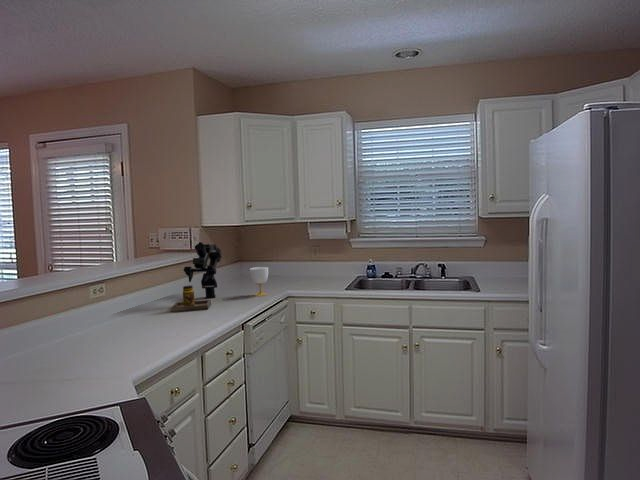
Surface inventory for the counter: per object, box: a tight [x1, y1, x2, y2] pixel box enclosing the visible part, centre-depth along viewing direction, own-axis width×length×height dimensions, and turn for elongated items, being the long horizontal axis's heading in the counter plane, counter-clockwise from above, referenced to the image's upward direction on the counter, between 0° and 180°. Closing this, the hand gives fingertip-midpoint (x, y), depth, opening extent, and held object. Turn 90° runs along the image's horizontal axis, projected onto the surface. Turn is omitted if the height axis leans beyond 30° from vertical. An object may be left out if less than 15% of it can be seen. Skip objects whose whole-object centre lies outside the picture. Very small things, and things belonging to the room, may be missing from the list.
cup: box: [249, 266, 269, 297], centre depth 297 cm, size 12×12×17 cm
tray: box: [170, 299, 212, 313], centre depth 267 cm, size 16×20×2 cm
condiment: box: [182, 285, 197, 307], centre depth 266 cm, size 7×8×12 cm
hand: (197, 281), depth 276 cm, fingers open, 9 cm apart
